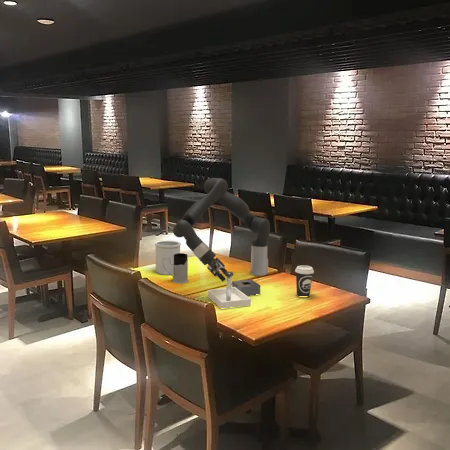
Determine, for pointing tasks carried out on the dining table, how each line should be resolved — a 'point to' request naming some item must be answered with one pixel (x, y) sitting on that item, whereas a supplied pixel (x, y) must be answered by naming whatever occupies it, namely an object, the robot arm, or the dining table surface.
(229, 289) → the steel pin
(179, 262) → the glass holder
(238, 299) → the plastic tray
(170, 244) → the utensil holder
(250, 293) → the bracket
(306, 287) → the coffee cup
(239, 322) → the dining table surface
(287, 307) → the dining table surface
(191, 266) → the dining table surface
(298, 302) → the dining table surface
